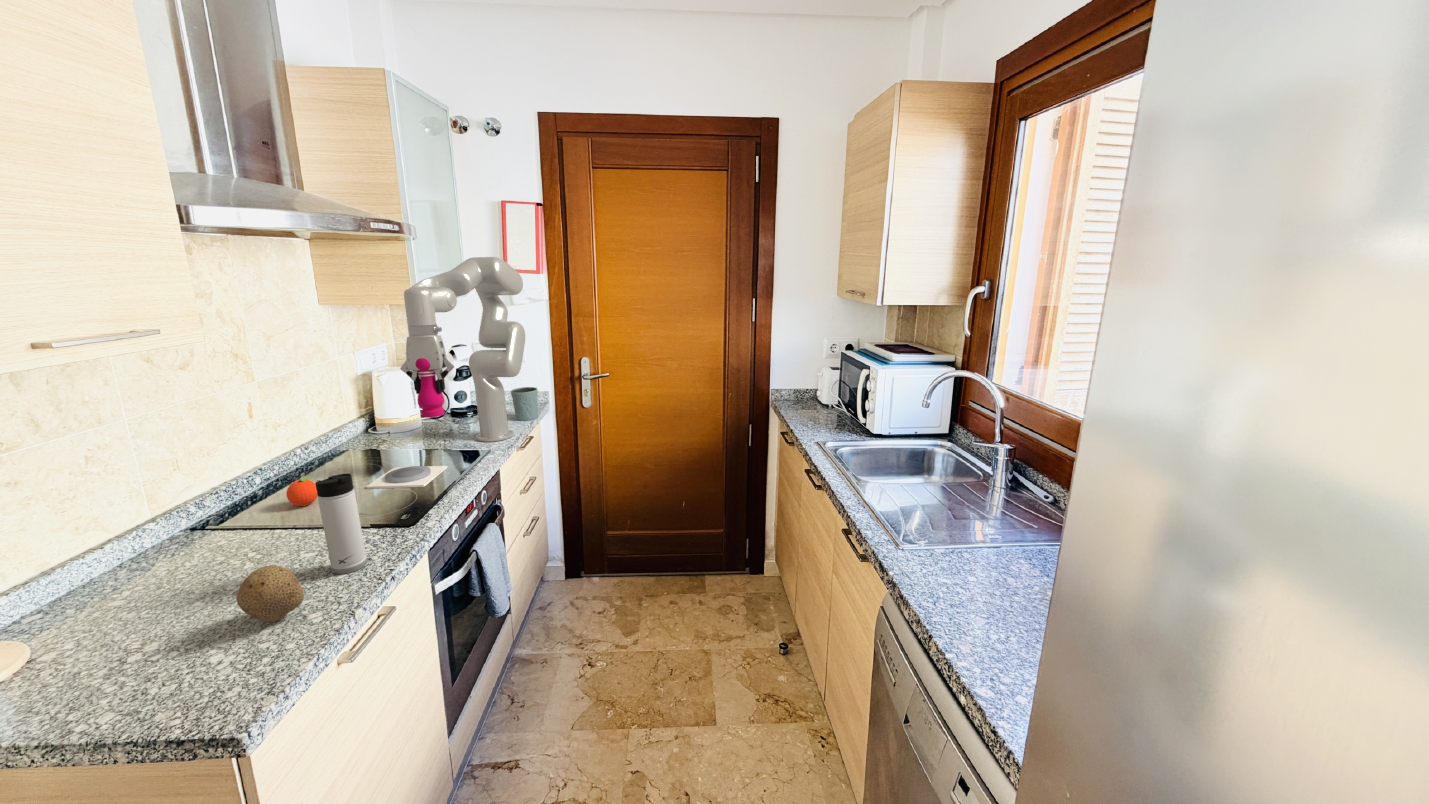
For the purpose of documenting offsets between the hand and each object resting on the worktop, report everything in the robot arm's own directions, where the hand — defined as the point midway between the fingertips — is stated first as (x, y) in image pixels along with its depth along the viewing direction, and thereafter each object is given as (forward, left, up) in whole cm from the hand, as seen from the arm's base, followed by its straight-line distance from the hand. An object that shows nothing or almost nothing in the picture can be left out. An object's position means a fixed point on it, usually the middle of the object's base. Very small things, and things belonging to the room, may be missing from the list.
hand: (430, 392), depth 174 cm
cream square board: (+7, -6, -24) cm, 26 cm away
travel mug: (+60, +7, -24) cm, 65 cm away
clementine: (+25, -24, -24) cm, 43 cm away
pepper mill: (0, 0, -7) cm, 7 cm away
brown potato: (+78, +4, -24) cm, 82 cm away
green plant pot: (-58, +10, -24) cm, 64 cm away
